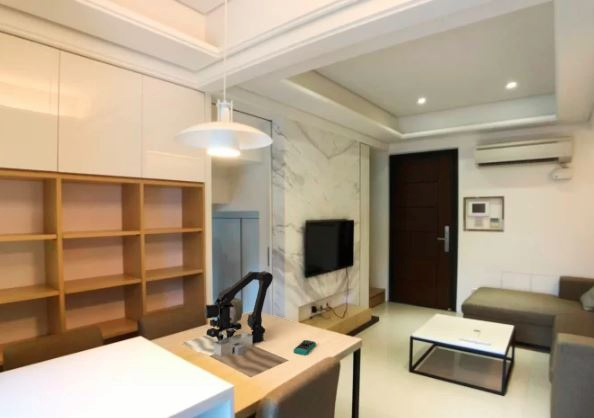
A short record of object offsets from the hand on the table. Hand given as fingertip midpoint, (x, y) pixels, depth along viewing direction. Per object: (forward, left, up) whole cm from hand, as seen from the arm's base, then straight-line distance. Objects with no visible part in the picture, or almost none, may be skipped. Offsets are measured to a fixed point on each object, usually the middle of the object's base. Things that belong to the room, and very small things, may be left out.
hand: (224, 345), depth 185 cm
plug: (0, +5, -1) cm, 5 cm away
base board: (0, +8, -2) cm, 8 cm away
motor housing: (0, +8, -2) cm, 8 cm away
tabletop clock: (-23, -26, -2) cm, 35 cm away
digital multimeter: (-29, +31, -2) cm, 43 cm away
